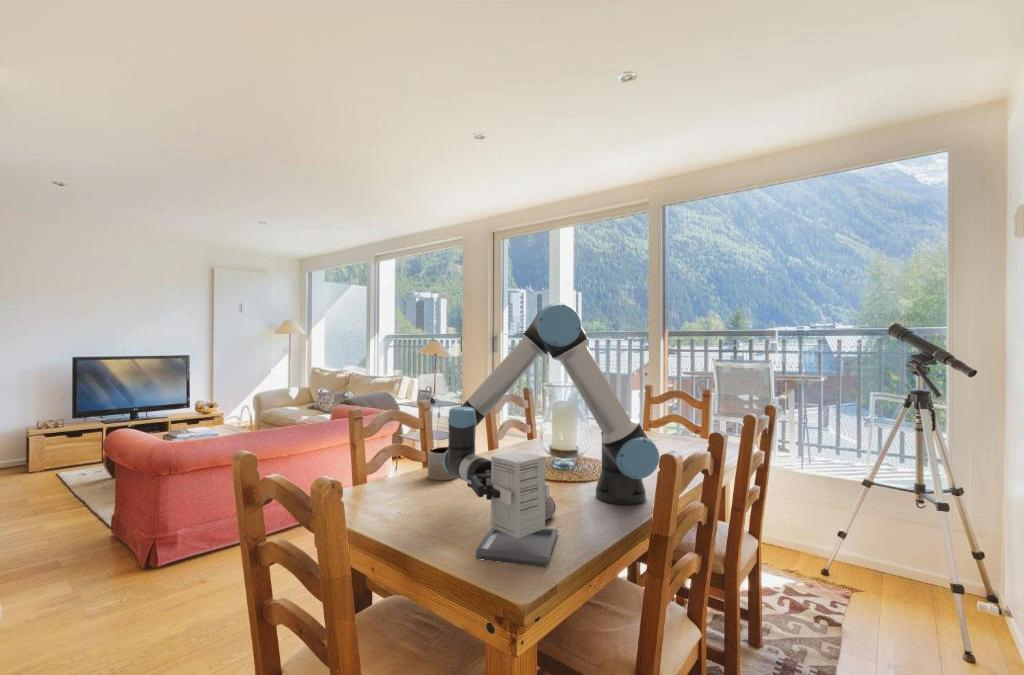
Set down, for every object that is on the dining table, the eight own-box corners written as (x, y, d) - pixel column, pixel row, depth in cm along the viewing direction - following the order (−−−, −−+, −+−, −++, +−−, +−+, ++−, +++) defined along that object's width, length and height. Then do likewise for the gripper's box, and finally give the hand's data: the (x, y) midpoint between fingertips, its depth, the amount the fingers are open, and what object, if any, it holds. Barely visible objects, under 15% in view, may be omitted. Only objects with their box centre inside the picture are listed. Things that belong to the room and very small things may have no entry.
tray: (557, 537, 121) (557, 528, 121) (547, 567, 105) (548, 556, 105) (494, 531, 125) (494, 523, 125) (476, 559, 109) (476, 549, 109)
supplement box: (546, 529, 115) (547, 456, 115) (518, 539, 108) (519, 463, 108) (517, 517, 122) (518, 449, 122) (489, 527, 115) (490, 455, 115)
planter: (421, 478, 173) (421, 450, 173) (442, 471, 182) (442, 445, 182) (444, 483, 166) (444, 454, 166) (465, 476, 175) (465, 449, 175)
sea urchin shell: (565, 519, 134) (565, 490, 134) (523, 529, 126) (524, 498, 127) (537, 505, 145) (537, 478, 145) (497, 514, 138) (497, 485, 138)
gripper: (514, 479, 136) (567, 502, 118) (440, 493, 123) (486, 520, 105) (514, 452, 136) (567, 470, 118) (440, 463, 124) (487, 485, 105)
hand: (529, 494), depth 112 cm, fingers closed on supplement box, 10 cm apart
